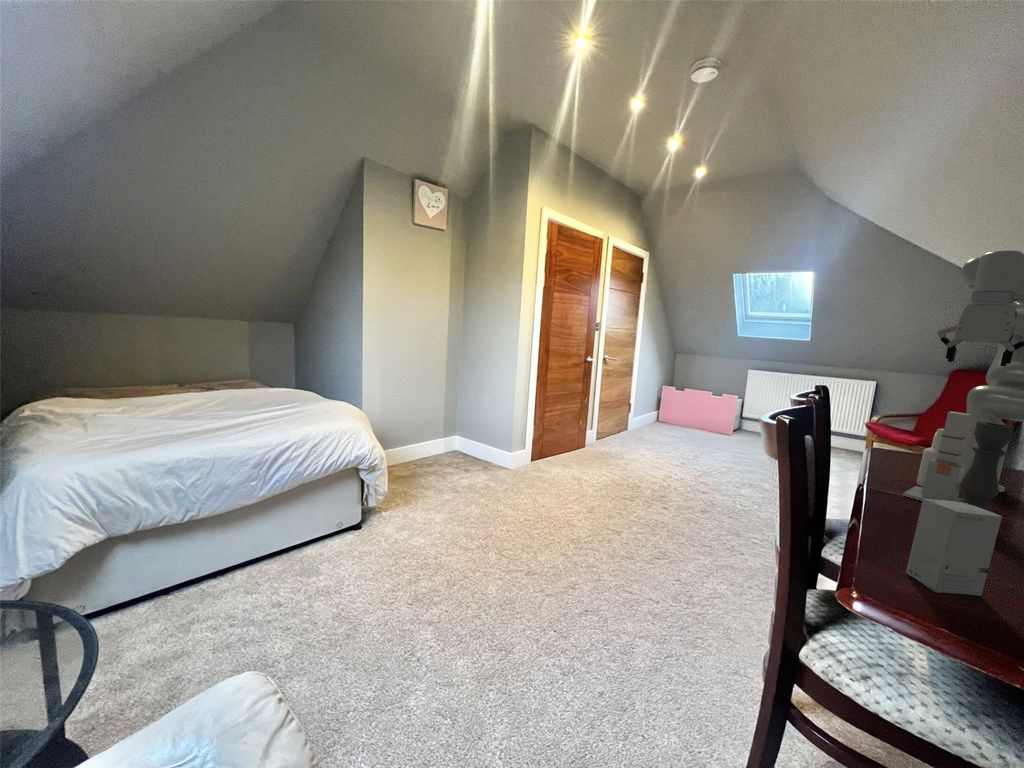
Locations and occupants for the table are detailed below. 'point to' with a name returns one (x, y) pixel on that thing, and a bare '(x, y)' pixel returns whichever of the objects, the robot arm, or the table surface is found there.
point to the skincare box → (953, 546)
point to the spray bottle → (929, 456)
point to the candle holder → (985, 464)
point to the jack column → (953, 437)
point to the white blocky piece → (939, 482)
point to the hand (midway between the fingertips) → (975, 363)
